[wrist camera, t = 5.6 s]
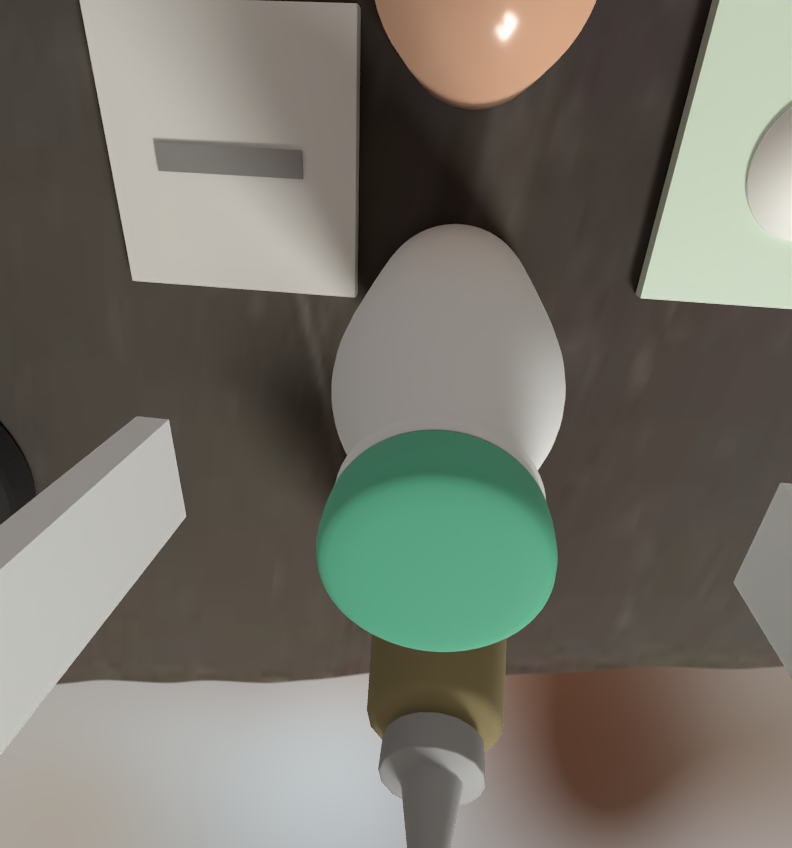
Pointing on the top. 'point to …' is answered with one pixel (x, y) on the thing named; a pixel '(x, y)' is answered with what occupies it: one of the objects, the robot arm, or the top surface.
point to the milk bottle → (444, 448)
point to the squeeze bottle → (435, 729)
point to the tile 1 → (233, 139)
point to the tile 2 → (730, 168)
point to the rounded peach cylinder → (481, 44)
